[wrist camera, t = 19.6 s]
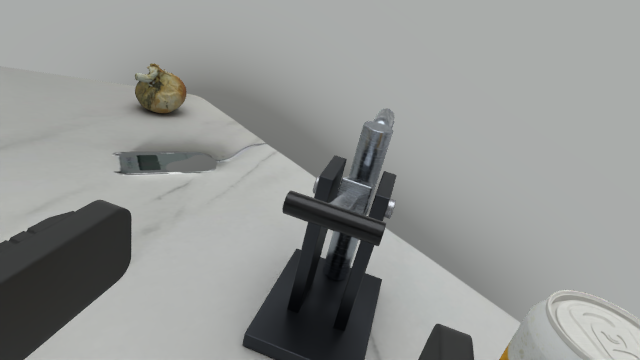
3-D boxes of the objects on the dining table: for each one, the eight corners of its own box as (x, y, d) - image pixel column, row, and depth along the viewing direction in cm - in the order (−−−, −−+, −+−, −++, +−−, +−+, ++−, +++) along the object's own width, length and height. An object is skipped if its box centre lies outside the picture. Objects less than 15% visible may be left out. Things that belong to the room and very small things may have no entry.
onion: (183, 121, 66) (187, 73, 63) (131, 115, 64) (131, 65, 60) (185, 106, 73) (188, 62, 69) (138, 100, 70) (138, 54, 66)
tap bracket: (354, 392, 29) (416, 238, 23) (242, 346, 30) (271, 189, 24) (378, 289, 39) (424, 165, 33) (294, 258, 41) (323, 134, 35)
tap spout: (344, 284, 37) (391, 135, 30) (319, 275, 37) (361, 126, 31) (360, 238, 44) (401, 110, 38) (340, 231, 45) (377, 103, 38)
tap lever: (374, 260, 19) (390, 212, 18) (276, 226, 19) (290, 180, 19) (381, 219, 30) (391, 190, 30) (320, 199, 31) (329, 170, 31)
